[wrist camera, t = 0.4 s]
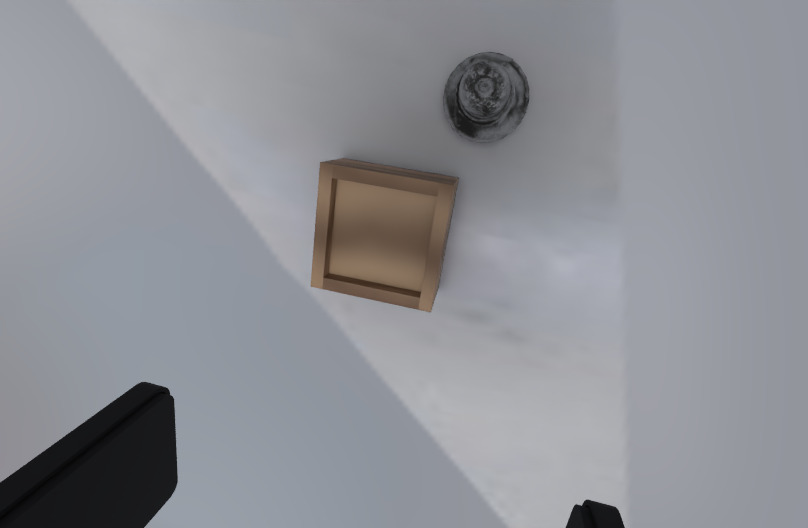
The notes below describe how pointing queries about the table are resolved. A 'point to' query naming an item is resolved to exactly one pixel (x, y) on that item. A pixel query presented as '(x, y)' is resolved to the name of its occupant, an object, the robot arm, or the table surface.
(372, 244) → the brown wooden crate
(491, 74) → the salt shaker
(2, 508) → the robot arm
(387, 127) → the table surface
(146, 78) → the table surface
